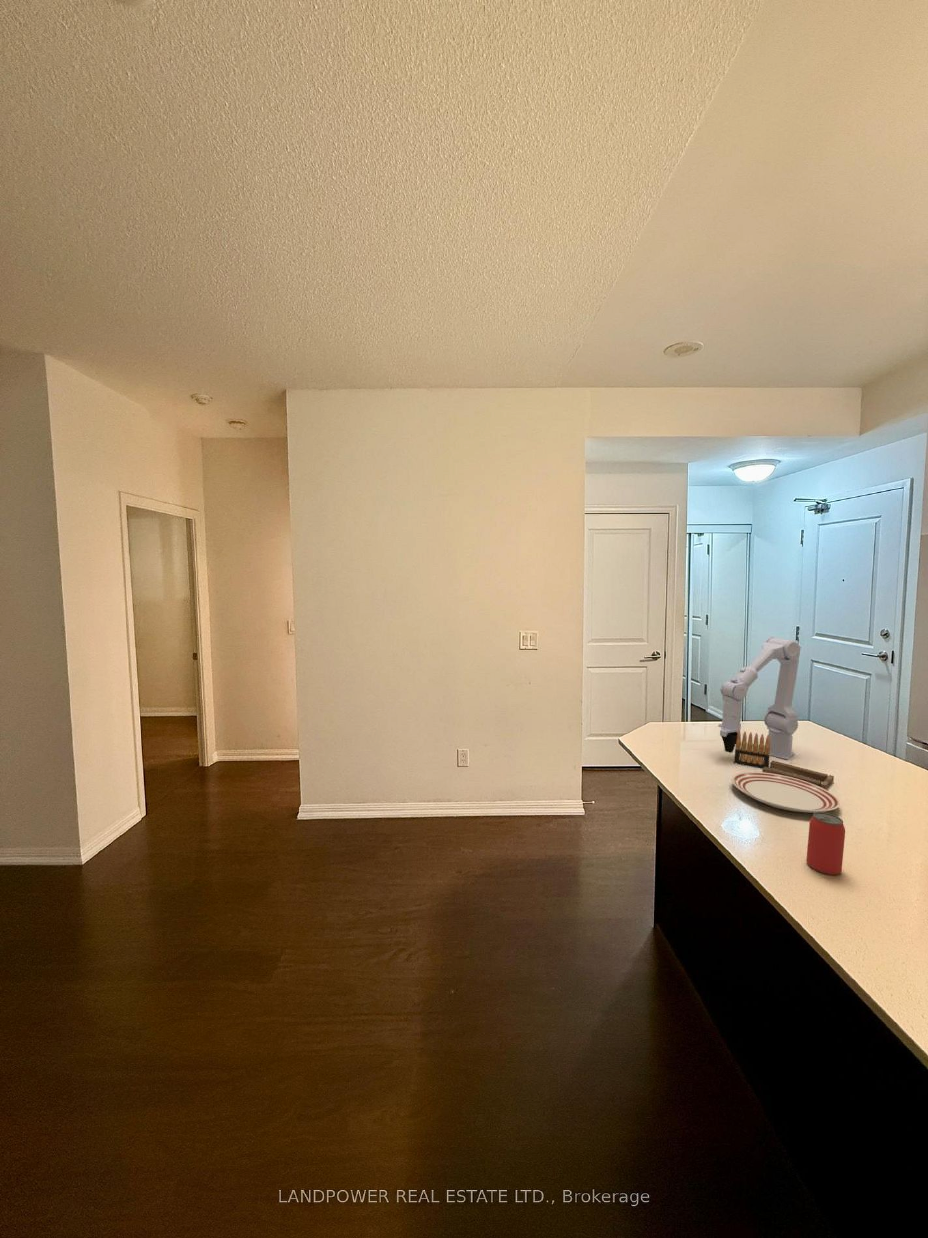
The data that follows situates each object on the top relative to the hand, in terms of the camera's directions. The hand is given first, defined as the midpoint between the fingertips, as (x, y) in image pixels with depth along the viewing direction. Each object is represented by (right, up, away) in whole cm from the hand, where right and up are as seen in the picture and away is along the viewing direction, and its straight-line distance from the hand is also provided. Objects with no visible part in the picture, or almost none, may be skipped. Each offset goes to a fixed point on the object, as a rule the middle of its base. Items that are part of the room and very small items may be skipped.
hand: (729, 751), depth 178 cm
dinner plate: (0, -6, -30) cm, 31 cm away
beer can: (-14, -9, -66) cm, 68 cm away
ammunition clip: (+5, -4, -5) cm, 8 cm away
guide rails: (+14, -5, -15) cm, 21 cm away
